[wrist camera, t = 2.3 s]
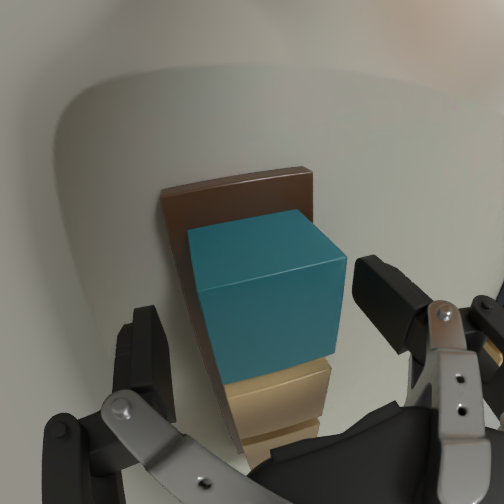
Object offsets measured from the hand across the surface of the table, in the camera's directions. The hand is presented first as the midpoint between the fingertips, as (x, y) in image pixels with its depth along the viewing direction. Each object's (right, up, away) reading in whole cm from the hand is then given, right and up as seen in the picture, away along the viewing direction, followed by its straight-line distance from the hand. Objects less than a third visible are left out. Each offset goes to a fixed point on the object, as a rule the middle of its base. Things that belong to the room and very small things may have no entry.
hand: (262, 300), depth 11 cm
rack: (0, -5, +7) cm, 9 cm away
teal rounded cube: (-1, +1, +2) cm, 2 cm away
